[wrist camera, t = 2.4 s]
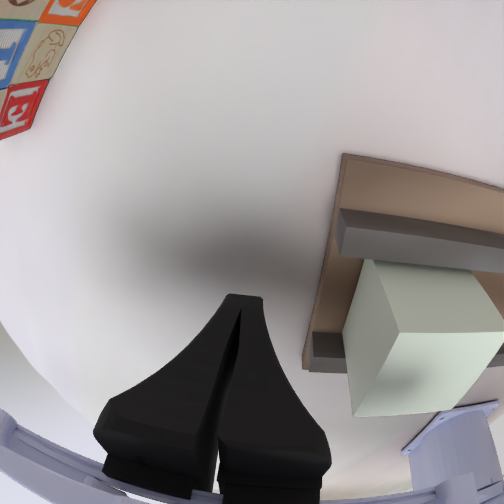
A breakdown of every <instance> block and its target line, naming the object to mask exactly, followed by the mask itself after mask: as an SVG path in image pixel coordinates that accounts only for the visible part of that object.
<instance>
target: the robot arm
mask: <svg viewBox="0 0 504 504" xmlns="http://www.w3.org/2000/svg"><path fill="white" fill-rule="evenodd" d="M499 404H500V403H499V401H494V402H489V403H484V404H479V405H473V406H467V407H461V408H455V409H451V410H445V411H441V412H440V413H439V414H438V415H437V416H436V417H435V418H434V419H433V421H432V422H431V423H430V424H429V425H428V426H427V427H426V428H425V429H424V430H423V431H422V432H421V433H420V434H419V435H418V436H417V437H416V438H415V439H414V440H413V441H412V442H411V443H410V444H409V445H408V446H407V447H406V448H405V449H404V450H403V451H401V455H402V456H404V455H408V456H409V463H410V470H411V477H412V485H413V491H410V492H405V493H399V494H392V495H385V496H377V497H369V498H358V499H345V500H322V501H320V489H321V488H322V476H323V475H324V474H325V473H326V472H327V470H328V469H329V468H330V466H331V464H332V459H331V453H330V448H329V444H328V441H327V438H326V435H325V432H324V431H323V430H322V428H321V427H320V426H319V425H318V424H317V423H316V421H315V420H314V419H313V418H312V416H311V415H310V414H309V412H308V411H307V410H306V408H305V407H304V405H303V404H302V403H301V401H300V399H299V398H298V396H297V395H296V393H295V391H294V390H293V388H292V387H291V385H290V383H289V381H288V379H287V377H286V376H285V374H284V372H283V370H282V367H281V365H280V363H279V361H278V359H277V356H276V354H275V351H274V348H273V346H272V343H271V340H270V337H269V333H268V330H267V326H266V322H265V317H264V312H263V299H262V298H261V297H257V296H247V295H238V294H228V295H226V297H225V299H224V301H223V302H222V304H221V305H220V307H219V308H218V310H217V311H216V313H215V314H214V315H213V317H212V318H211V319H210V321H209V322H208V323H207V324H206V326H205V327H204V328H203V329H202V330H201V332H200V333H199V334H198V335H197V336H196V337H195V338H194V339H193V340H192V341H191V343H190V344H189V345H188V346H187V347H186V348H185V349H183V350H182V351H181V352H180V353H179V354H178V355H177V356H176V357H175V358H174V359H172V360H171V361H170V362H169V363H167V364H166V365H165V366H164V367H162V368H161V369H160V370H158V371H157V372H156V373H154V374H153V375H151V376H150V377H148V378H147V379H145V380H144V381H142V382H141V383H139V384H137V385H136V386H134V387H132V388H131V389H129V390H127V391H125V392H123V393H121V394H119V395H117V396H115V397H113V398H111V399H109V401H108V402H107V404H106V406H105V407H104V409H103V410H102V412H101V414H100V416H99V418H98V421H97V423H96V425H95V428H94V430H93V435H94V437H95V438H96V440H97V441H98V443H100V445H101V446H102V447H103V448H104V450H105V451H106V452H107V453H108V455H107V457H106V460H105V463H104V464H102V463H99V462H97V461H94V460H91V459H89V458H87V457H84V456H82V455H79V454H77V453H74V452H72V451H70V450H68V449H66V448H64V447H61V446H59V445H57V444H55V443H53V442H50V441H49V440H47V439H45V438H43V437H41V436H39V435H37V434H35V433H33V432H31V431H30V430H28V429H26V428H24V427H22V426H21V425H19V424H17V422H16V421H15V420H14V418H13V417H12V416H11V415H9V414H8V413H7V412H5V411H4V410H2V409H1V408H0V471H1V472H3V473H4V474H6V475H7V476H8V477H10V478H12V479H13V480H14V481H16V482H17V483H19V484H21V485H22V486H24V487H25V488H27V489H28V490H30V491H32V492H33V493H35V494H37V495H38V496H40V497H42V498H44V499H45V500H47V501H49V502H51V503H53V504H149V503H146V502H142V501H139V500H135V499H132V498H129V497H128V496H127V495H126V493H125V492H123V491H126V492H129V493H132V494H135V495H139V496H142V497H145V498H149V499H152V500H156V501H160V502H163V503H167V504H504V481H503V476H502V473H501V468H500V464H499V460H498V456H497V452H496V449H495V445H494V441H493V438H492V435H491V431H490V428H489V425H488V422H487V419H486V418H487V417H488V416H489V415H490V414H491V413H492V412H493V411H494V410H495V409H496V408H497V407H498V406H499ZM218 449H219V458H220V464H219V470H218V475H217V481H218V484H219V490H220V494H217V493H212V490H213V483H214V476H215V469H216V462H217V455H218ZM111 486H112V487H111ZM113 487H115V488H113ZM116 488H117V489H116ZM118 489H120V490H123V491H120V490H118Z"/></svg>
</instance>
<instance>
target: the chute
mask: <svg viewBox="0 0 504 504" xmlns="http://www.w3.org/2000/svg"><path fill="white" fill-rule="evenodd" d="M364 259H371V260H381V261H391V262H400V263H410V264H420V265H429V266H439V267H448V268H457V269H467V270H471V272H472V273H473V275H474V276H475V277H476V279H477V280H478V282H479V283H480V284H481V286H482V287H483V289H484V290H485V292H486V293H487V295H488V296H489V298H490V299H491V301H492V302H493V304H494V305H495V307H496V308H497V310H498V311H499V313H500V314H501V316H502V318H503V319H504V189H501V188H498V187H494V186H491V185H488V184H484V183H481V182H477V181H474V180H470V179H466V178H463V177H459V176H455V175H451V174H447V173H443V172H438V171H434V170H430V169H425V168H421V167H416V166H412V165H407V164H402V163H397V162H391V161H386V160H381V159H375V158H369V157H363V156H357V155H350V154H344V153H343V155H342V162H341V168H340V175H339V181H338V188H337V194H336V200H335V206H334V211H333V217H332V223H331V228H330V233H329V239H328V244H327V249H326V254H325V259H324V264H323V269H322V274H321V278H320V283H319V287H318V292H317V296H316V301H315V305H314V310H313V314H312V318H311V322H310V326H309V330H308V334H307V339H306V342H305V346H304V350H303V354H302V369H305V370H309V372H323V373H348V372H347V364H346V357H345V350H344V343H343V336H342V331H343V328H344V325H345V322H346V319H347V316H348V313H349V310H350V306H351V303H352V300H353V297H354V294H355V290H356V287H357V284H358V280H359V277H360V273H361V270H362V266H363V262H364ZM496 366H504V343H503V344H502V345H501V347H500V348H499V350H498V351H497V353H496V354H495V356H494V357H493V358H492V360H491V361H490V363H489V364H488V365H487V367H486V368H488V367H496Z"/></svg>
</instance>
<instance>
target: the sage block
mask: <svg viewBox="0 0 504 504" xmlns="http://www.w3.org/2000/svg"><path fill="white" fill-rule="evenodd" d="M342 336H343V343H344V350H345V357H346V364H347V372H348V380H349V388H350V397H351V406H352V416H353V417H375V416H394V415H408V414H419V413H428V412H437V411H445V410H451V409H452V408H453V407H454V406H455V405H456V404H457V403H458V402H459V400H460V399H461V398H462V397H463V396H464V395H465V393H466V392H467V391H468V390H469V389H470V387H471V386H472V385H473V384H474V382H475V381H476V380H477V379H478V377H479V376H480V375H481V373H482V372H483V371H484V369H485V368H486V367H487V365H488V364H489V363H490V361H491V360H492V358H493V357H494V356H495V354H496V353H497V351H498V350H499V348H500V347H501V345H502V344H503V343H504V319H503V318H502V316H501V314H500V313H499V311H498V310H497V308H496V307H495V305H494V304H493V302H492V301H491V299H490V298H489V296H488V295H487V293H486V292H485V290H484V289H483V287H482V286H481V284H480V283H479V282H478V280H477V279H476V277H475V276H474V275H473V273H472V272H471V270H467V269H457V268H448V267H439V266H429V265H420V264H410V263H400V262H391V261H381V260H371V259H364V262H363V266H362V270H361V273H360V277H359V280H358V284H357V287H356V290H355V294H354V297H353V300H352V303H351V306H350V310H349V313H348V316H347V319H346V322H345V325H344V328H343V331H342Z"/></svg>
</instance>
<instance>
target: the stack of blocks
mask: <svg viewBox="0 0 504 504" xmlns="http://www.w3.org/2000/svg"><path fill="white" fill-rule="evenodd" d="M95 2H96V0H0V140H2V139H5V138H8V137H10V136H13V135H16V134H18V133H21V132H24V131H26V130H28V129H30V127H31V124H32V121H33V118H34V116H35V113H36V110H37V108H38V105H39V103H40V100H41V98H42V95H43V93H44V90H45V88H46V86H47V84H48V79H49V78H51V77H52V76H53V74H54V72H55V70H56V68H57V66H58V64H59V62H60V60H61V58H62V56H63V54H64V53H65V51H66V49H67V47H68V45H69V43H70V42H71V40H72V38H73V36H74V34H75V32H76V30H77V28H78V26H79V25H80V24H81V22H82V21H83V19H84V18H85V16H86V15H87V13H88V12H89V10H90V9H91V7H92V6H93V4H94V3H95Z"/></svg>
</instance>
